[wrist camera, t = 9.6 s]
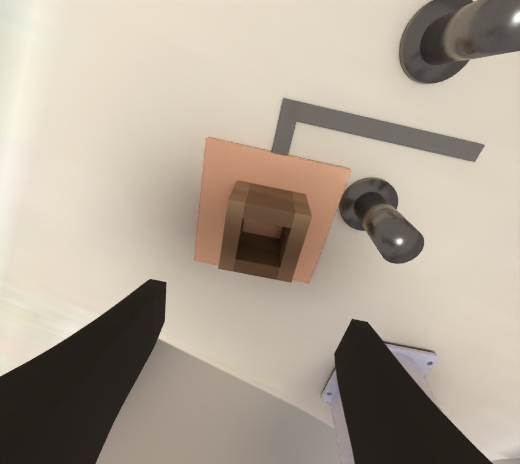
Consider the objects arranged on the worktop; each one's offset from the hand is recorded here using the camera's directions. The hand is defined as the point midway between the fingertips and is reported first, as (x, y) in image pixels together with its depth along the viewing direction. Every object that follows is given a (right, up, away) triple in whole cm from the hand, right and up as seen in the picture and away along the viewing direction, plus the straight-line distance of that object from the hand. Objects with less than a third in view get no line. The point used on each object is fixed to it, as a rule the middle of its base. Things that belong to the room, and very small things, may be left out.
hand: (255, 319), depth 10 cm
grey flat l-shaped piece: (+7, +8, +6) cm, 12 cm away
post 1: (+7, +5, +7) cm, 12 cm away
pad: (+1, +4, +8) cm, 9 cm away
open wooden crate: (+1, +4, +8) cm, 9 cm away
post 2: (+9, +13, +3) cm, 16 cm away
